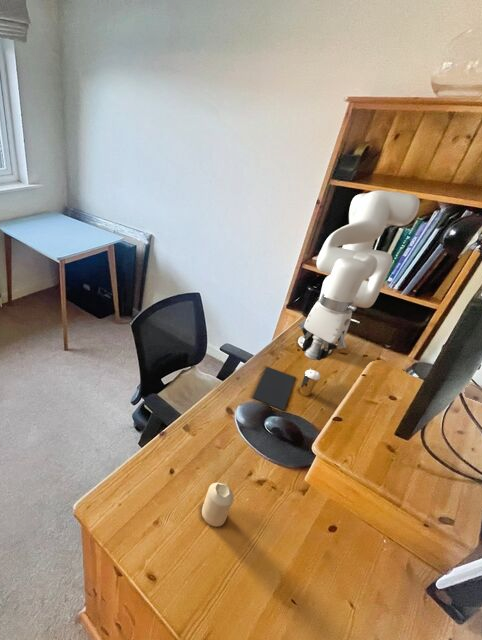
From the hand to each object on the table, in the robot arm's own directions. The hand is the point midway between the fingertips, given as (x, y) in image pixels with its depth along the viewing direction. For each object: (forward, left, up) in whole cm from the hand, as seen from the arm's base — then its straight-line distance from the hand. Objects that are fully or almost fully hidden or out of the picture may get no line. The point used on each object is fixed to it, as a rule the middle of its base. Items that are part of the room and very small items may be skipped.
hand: (313, 353), depth 106 cm
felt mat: (-2, -7, -19) cm, 20 cm away
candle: (+54, -9, -19) cm, 58 cm away
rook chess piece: (0, 0, -1) cm, 1 cm away
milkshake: (-6, +2, -19) cm, 20 cm away
